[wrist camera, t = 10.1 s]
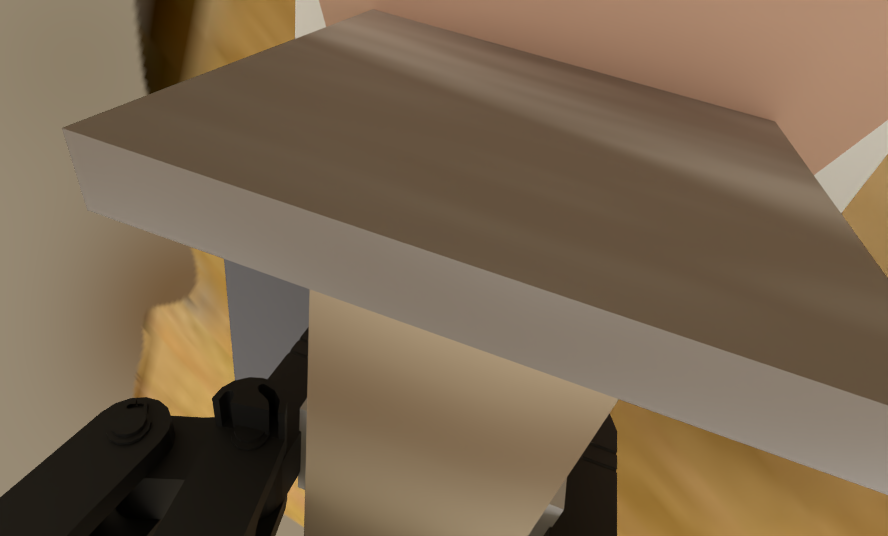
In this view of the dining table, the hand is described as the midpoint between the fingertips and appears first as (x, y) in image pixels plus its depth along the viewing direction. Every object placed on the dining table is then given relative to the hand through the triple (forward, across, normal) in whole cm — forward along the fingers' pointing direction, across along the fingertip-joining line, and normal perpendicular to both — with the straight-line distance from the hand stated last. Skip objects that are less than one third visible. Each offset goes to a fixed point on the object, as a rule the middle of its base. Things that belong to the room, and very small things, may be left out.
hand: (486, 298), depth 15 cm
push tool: (0, 0, +1) cm, 1 cm away
